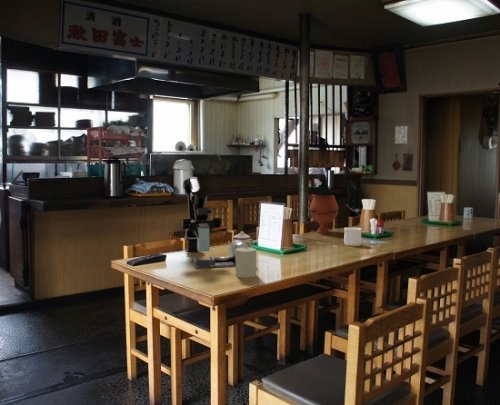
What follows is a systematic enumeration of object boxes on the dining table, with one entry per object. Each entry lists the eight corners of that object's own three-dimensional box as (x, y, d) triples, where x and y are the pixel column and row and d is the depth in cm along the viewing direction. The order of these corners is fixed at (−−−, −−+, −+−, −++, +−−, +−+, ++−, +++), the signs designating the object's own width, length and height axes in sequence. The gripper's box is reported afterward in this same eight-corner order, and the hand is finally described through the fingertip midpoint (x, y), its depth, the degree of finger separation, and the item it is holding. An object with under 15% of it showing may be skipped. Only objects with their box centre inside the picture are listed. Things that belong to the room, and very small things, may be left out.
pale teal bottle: (197, 249, 234) (197, 223, 233) (207, 249, 235) (207, 222, 234) (199, 251, 229) (198, 224, 228) (209, 251, 231) (209, 224, 229)
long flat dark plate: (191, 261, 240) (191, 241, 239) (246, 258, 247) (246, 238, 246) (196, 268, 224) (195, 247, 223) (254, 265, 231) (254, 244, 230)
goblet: (343, 232, 328) (344, 195, 326) (321, 235, 318) (322, 197, 316) (325, 228, 344) (325, 193, 342) (303, 231, 334) (304, 195, 332)
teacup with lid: (239, 255, 253) (239, 233, 252) (230, 252, 261) (230, 231, 259) (258, 253, 260) (258, 231, 259) (248, 250, 267) (248, 229, 266)
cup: (362, 246, 280) (363, 229, 279) (345, 246, 280) (345, 229, 279) (359, 243, 289) (359, 227, 288) (342, 243, 290) (343, 227, 289)
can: (255, 272, 217) (255, 246, 216) (256, 277, 208) (256, 250, 207) (235, 272, 217) (235, 246, 216) (235, 278, 208) (235, 250, 207)
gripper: (182, 201, 231) (185, 228, 222) (220, 200, 236) (225, 226, 227) (180, 215, 240) (183, 241, 230) (217, 214, 245) (222, 240, 235)
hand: (203, 237), depth 230 cm, fingers closed on pale teal bottle, 5 cm apart
